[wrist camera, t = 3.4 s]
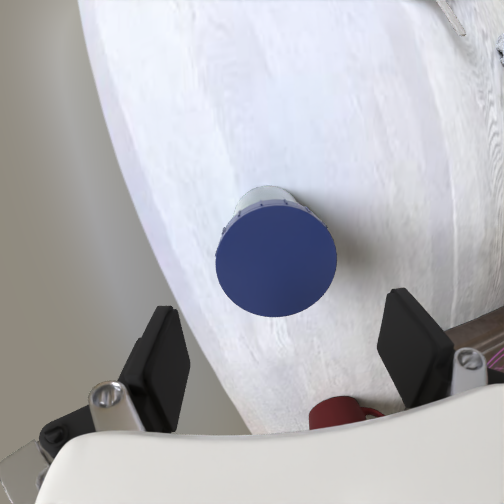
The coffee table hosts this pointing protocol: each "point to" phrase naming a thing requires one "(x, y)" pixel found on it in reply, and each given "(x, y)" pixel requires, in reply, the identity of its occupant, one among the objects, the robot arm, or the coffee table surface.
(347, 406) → the mug
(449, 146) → the coffee table surface
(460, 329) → the book
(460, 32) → the saucepan
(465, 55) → the coffee table surface
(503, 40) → the bottle
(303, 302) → the lid
